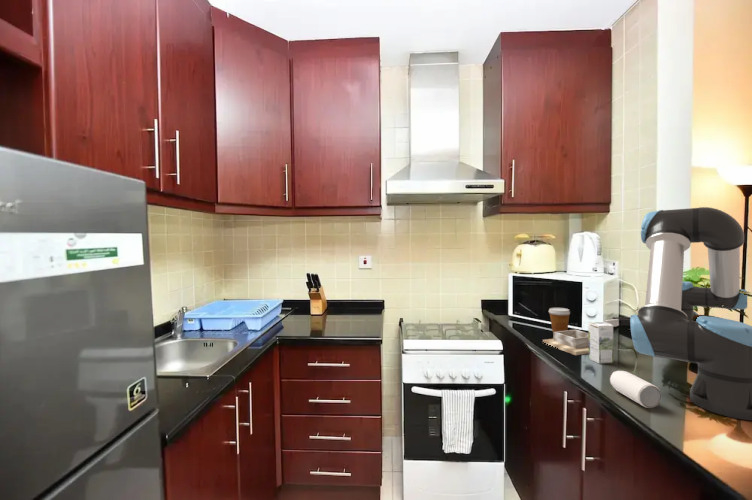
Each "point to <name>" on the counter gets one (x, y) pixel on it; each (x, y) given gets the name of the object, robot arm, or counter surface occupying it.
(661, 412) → the counter surface
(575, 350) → the stand
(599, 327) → the syrup box
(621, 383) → the can
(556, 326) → the disposable coffee cup
